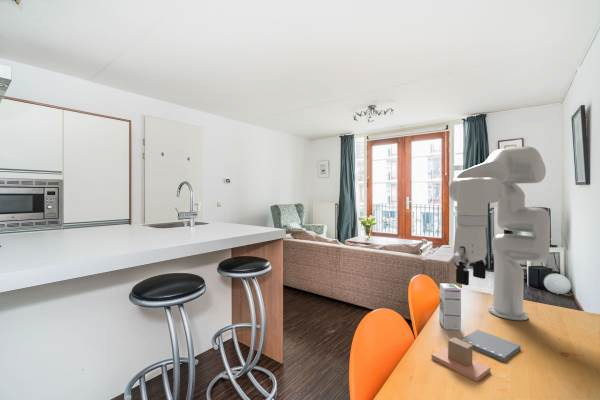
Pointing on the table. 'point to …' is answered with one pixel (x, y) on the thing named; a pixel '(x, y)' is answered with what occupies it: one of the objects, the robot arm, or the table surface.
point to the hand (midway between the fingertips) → (471, 280)
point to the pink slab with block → (461, 359)
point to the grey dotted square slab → (491, 345)
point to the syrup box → (450, 306)
